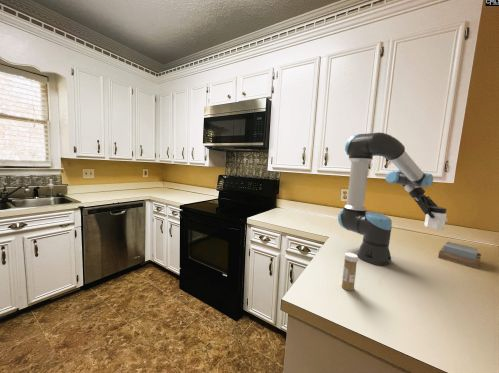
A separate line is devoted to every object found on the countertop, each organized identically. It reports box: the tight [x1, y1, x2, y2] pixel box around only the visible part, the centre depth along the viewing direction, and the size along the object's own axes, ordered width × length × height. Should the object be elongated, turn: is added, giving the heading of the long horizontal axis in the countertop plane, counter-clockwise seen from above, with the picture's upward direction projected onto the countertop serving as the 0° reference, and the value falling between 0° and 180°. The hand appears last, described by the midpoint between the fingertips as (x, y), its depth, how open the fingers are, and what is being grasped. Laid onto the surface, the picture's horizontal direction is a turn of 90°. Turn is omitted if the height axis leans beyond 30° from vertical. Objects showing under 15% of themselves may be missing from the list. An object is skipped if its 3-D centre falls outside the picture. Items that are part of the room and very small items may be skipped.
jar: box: [423, 206, 448, 231], centre depth 123 cm, size 9×8×12 cm
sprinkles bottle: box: [341, 252, 359, 292], centre depth 81 cm, size 5×5×13 cm
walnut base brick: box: [437, 244, 482, 270], centre depth 115 cm, size 15×15×4 cm
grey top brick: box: [443, 241, 479, 260], centre depth 114 cm, size 12×12×4 cm
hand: (442, 222), depth 120 cm, fingers closed on jar, 8 cm apart
